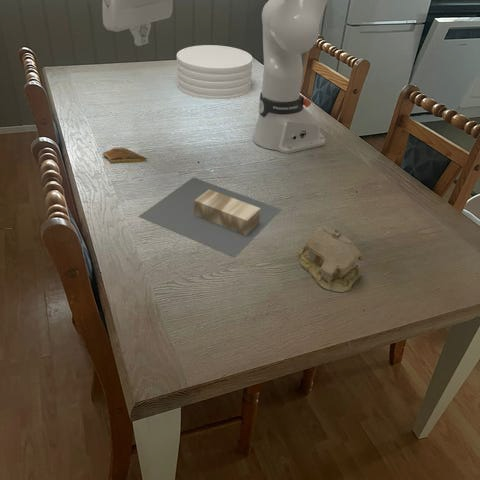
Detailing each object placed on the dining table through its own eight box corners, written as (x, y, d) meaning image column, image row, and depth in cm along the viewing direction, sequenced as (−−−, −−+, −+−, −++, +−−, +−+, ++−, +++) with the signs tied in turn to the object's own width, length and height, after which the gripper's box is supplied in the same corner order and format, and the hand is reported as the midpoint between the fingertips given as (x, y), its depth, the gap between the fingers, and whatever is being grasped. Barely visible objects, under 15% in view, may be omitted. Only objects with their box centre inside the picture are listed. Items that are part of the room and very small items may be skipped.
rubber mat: (138, 218, 107) (138, 216, 107) (193, 179, 122) (193, 177, 122) (234, 259, 97) (234, 257, 97) (281, 211, 113) (281, 209, 112)
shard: (147, 162, 129) (147, 157, 128) (127, 173, 124) (126, 167, 123) (120, 150, 134) (120, 144, 133) (99, 159, 129) (99, 154, 128)
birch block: (194, 200, 106) (247, 220, 101) (208, 189, 110) (260, 208, 105) (194, 214, 109) (246, 235, 103) (208, 203, 113) (259, 222, 108)
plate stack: (250, 102, 168) (252, 70, 161) (173, 97, 167) (172, 65, 160) (250, 76, 190) (252, 47, 183) (181, 72, 189) (181, 43, 182)
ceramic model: (371, 275, 96) (383, 237, 90) (337, 299, 90) (347, 260, 84) (319, 242, 104) (327, 205, 98) (285, 262, 98) (290, 223, 92)
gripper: (114, -15, 92) (121, 57, 101) (176, -26, 107) (178, 38, 115) (91, -19, 95) (99, 51, 103) (154, -29, 109) (157, 33, 118)
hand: (141, 44), depth 109 cm, fingers closed
